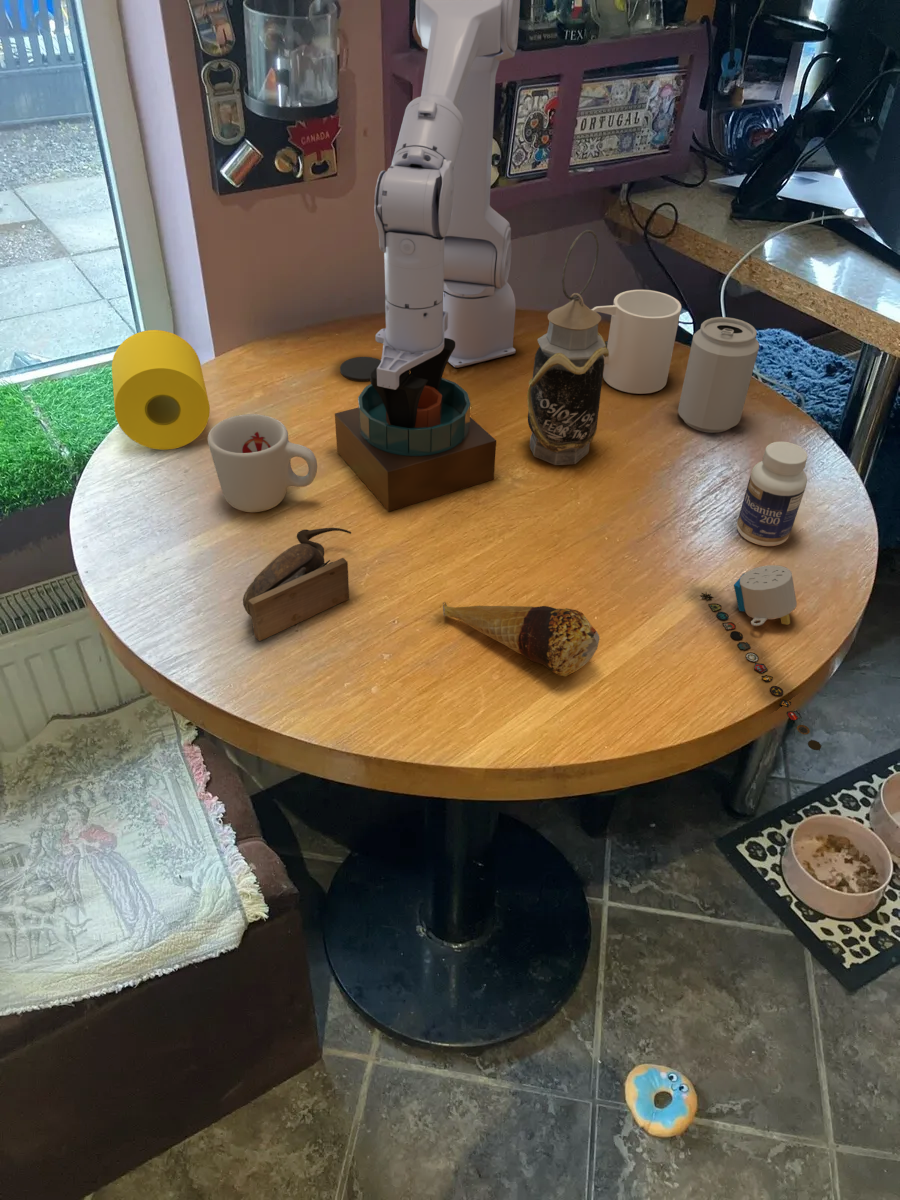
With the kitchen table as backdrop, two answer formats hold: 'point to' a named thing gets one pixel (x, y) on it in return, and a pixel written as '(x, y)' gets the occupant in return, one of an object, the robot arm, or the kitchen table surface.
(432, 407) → the small bowl
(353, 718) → the kitchen table surface
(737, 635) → the bead strand
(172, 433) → the tape roll
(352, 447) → the stand
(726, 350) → the can
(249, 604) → the figurine
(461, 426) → the big bowl
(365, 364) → the coaster
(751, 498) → the pill bottle
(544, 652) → the ice cream cone
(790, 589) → the electric motor
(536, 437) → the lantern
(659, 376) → the cup
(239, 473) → the cup
